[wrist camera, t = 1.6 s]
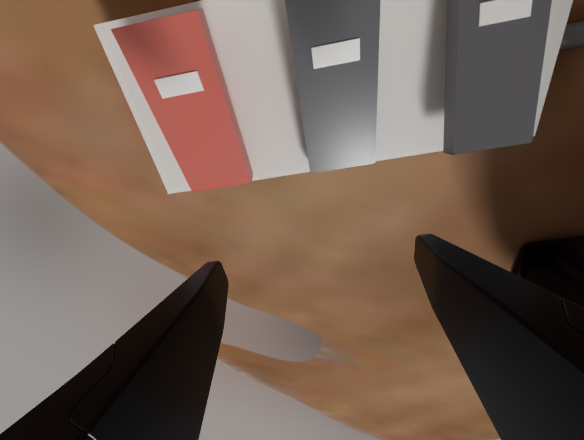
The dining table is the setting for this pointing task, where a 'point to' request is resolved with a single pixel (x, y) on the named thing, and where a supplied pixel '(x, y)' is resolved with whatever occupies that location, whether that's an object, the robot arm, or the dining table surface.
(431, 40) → the power strip
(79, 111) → the dining table surface
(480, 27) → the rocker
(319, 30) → the rocker middle
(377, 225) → the dining table surface
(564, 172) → the dining table surface
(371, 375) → the dining table surface
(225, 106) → the rocker red
